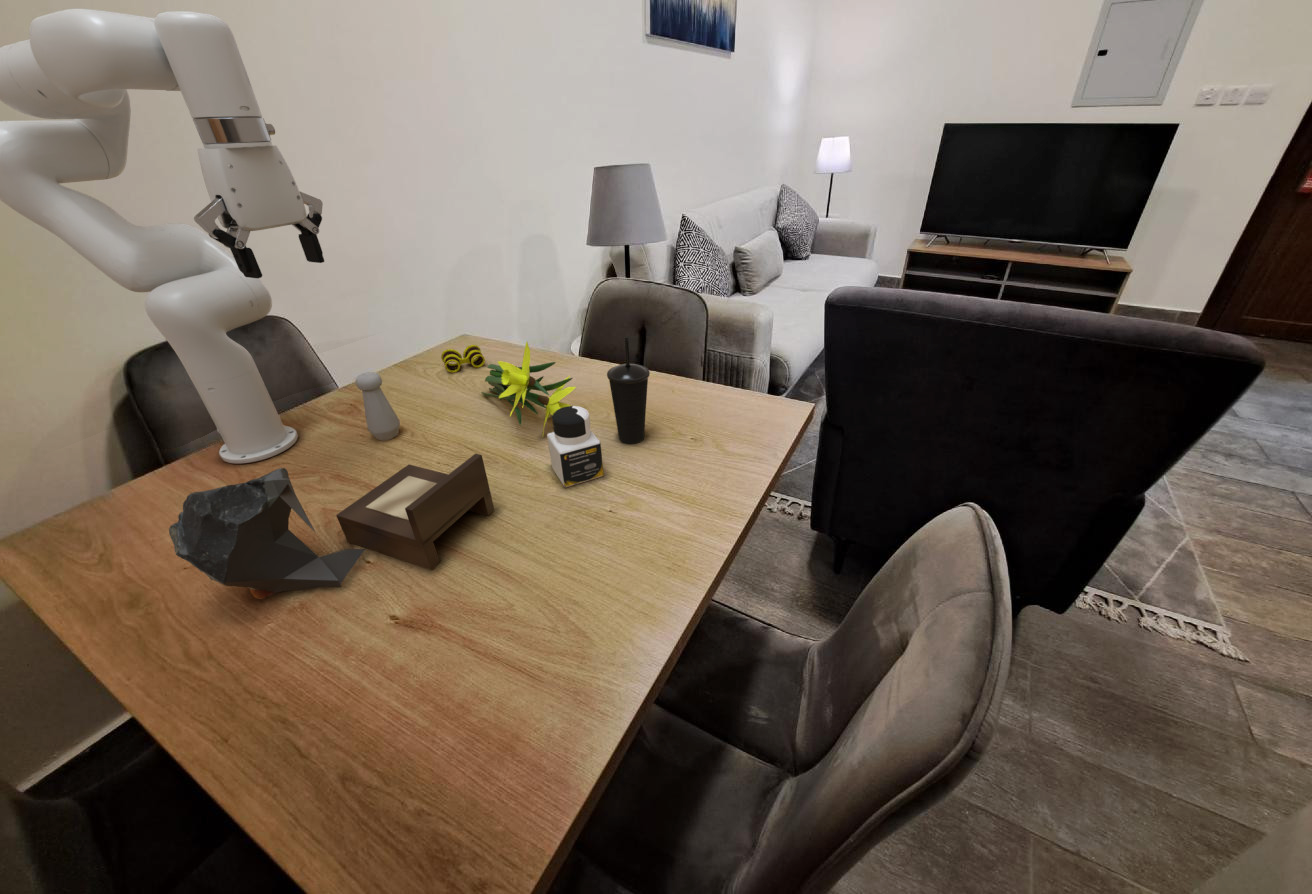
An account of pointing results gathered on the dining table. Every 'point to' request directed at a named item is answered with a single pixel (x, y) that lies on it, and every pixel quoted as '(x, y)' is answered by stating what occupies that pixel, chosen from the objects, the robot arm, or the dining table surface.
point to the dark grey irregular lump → (254, 539)
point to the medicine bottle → (574, 447)
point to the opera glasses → (468, 357)
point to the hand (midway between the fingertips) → (286, 269)
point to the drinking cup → (629, 398)
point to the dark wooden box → (416, 510)
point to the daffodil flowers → (526, 386)
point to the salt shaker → (377, 407)
